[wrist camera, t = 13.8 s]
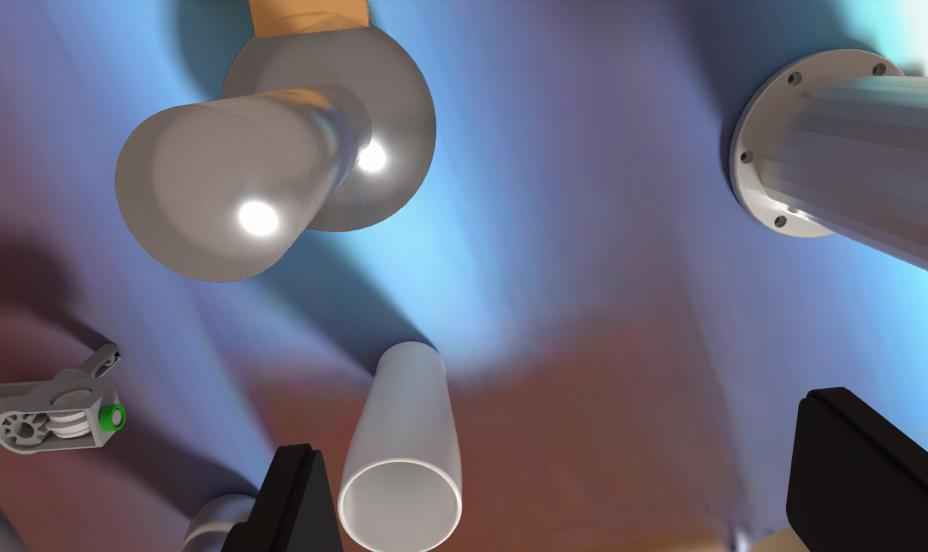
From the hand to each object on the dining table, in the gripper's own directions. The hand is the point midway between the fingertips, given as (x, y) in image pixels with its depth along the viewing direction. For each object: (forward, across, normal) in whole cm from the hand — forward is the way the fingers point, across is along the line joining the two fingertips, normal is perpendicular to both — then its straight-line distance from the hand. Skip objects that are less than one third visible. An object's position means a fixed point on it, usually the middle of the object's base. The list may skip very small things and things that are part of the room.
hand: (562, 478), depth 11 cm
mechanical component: (+31, +28, +10) cm, 43 cm away
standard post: (+30, +8, -5) cm, 32 cm away
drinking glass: (+31, +6, +14) cm, 34 cm away
